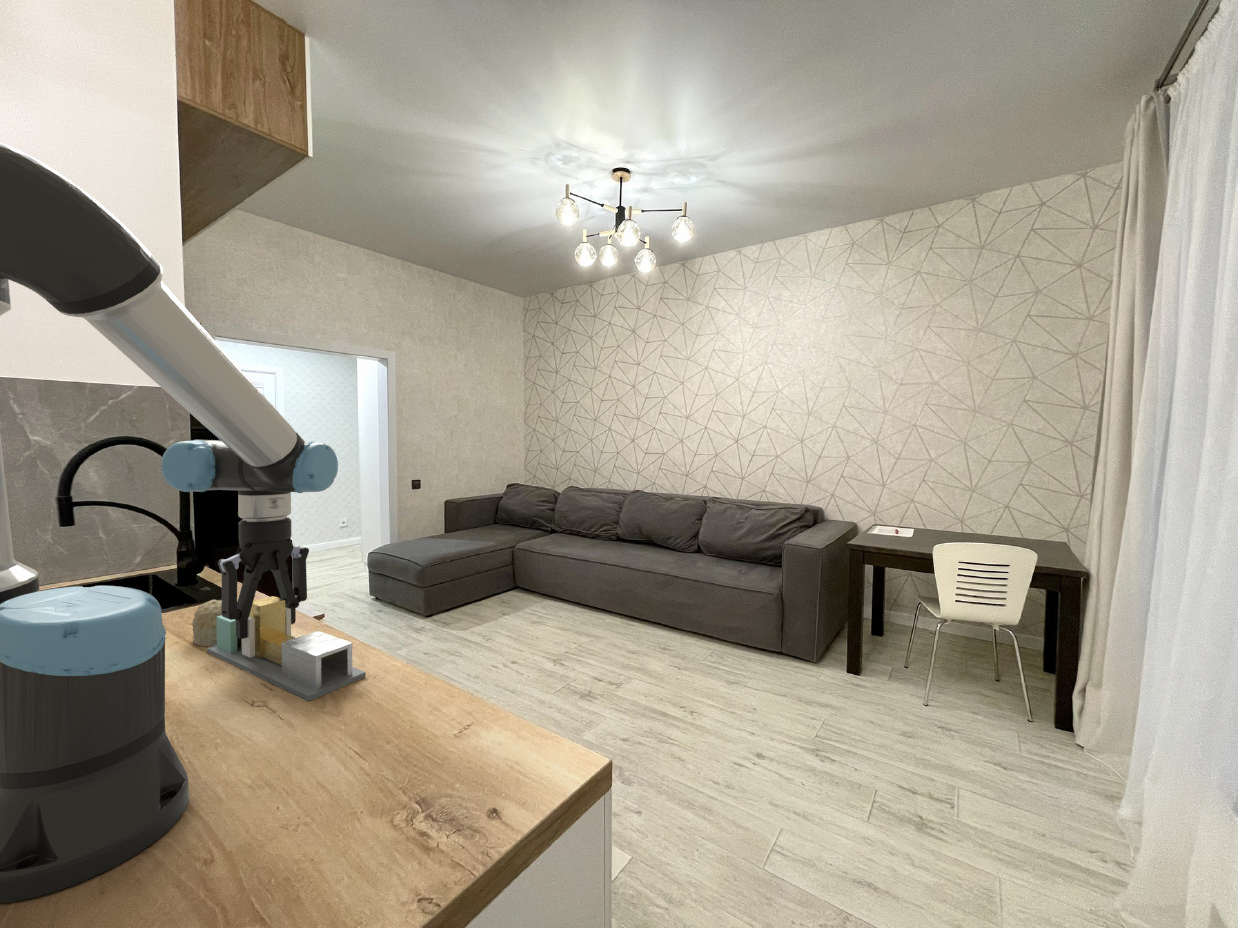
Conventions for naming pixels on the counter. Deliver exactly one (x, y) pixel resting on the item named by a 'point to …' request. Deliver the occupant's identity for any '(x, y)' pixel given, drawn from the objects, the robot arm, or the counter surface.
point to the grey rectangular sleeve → (315, 657)
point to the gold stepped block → (269, 628)
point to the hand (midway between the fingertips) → (267, 648)
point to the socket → (226, 634)
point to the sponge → (206, 623)
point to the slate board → (274, 675)
